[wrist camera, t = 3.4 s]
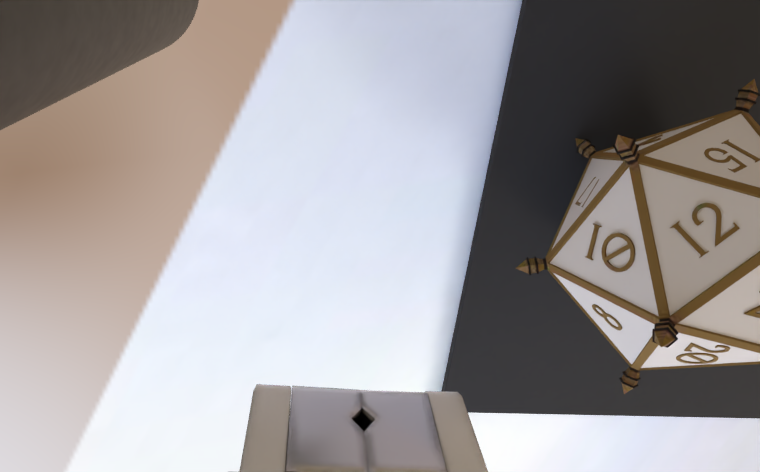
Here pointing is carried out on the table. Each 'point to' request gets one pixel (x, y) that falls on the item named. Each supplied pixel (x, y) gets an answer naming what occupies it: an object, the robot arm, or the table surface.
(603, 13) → the mat
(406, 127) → the table surface
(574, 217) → the game die
